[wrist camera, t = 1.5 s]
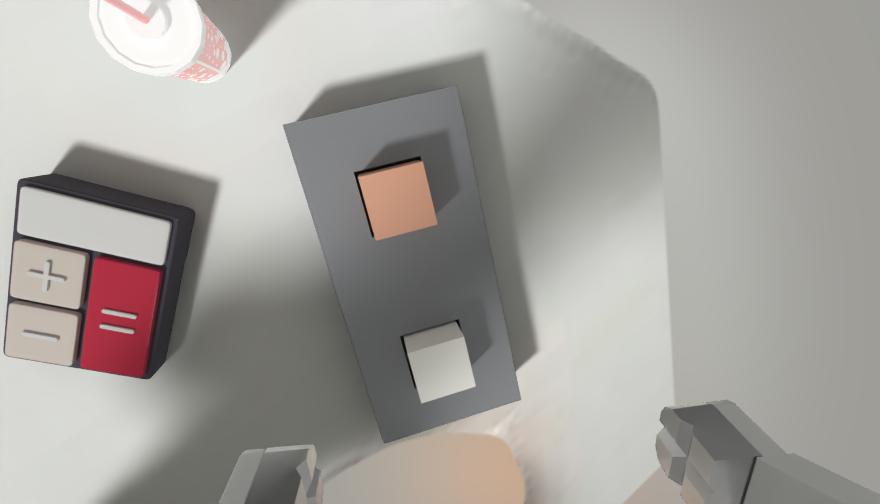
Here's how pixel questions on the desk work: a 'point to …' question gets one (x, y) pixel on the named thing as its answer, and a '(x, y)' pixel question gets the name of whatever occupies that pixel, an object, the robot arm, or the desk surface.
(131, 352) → the calculator
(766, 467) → the robot arm
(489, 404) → the console
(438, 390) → the key white
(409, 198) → the key terracotta
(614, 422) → the desk surface
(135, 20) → the beverage cup
